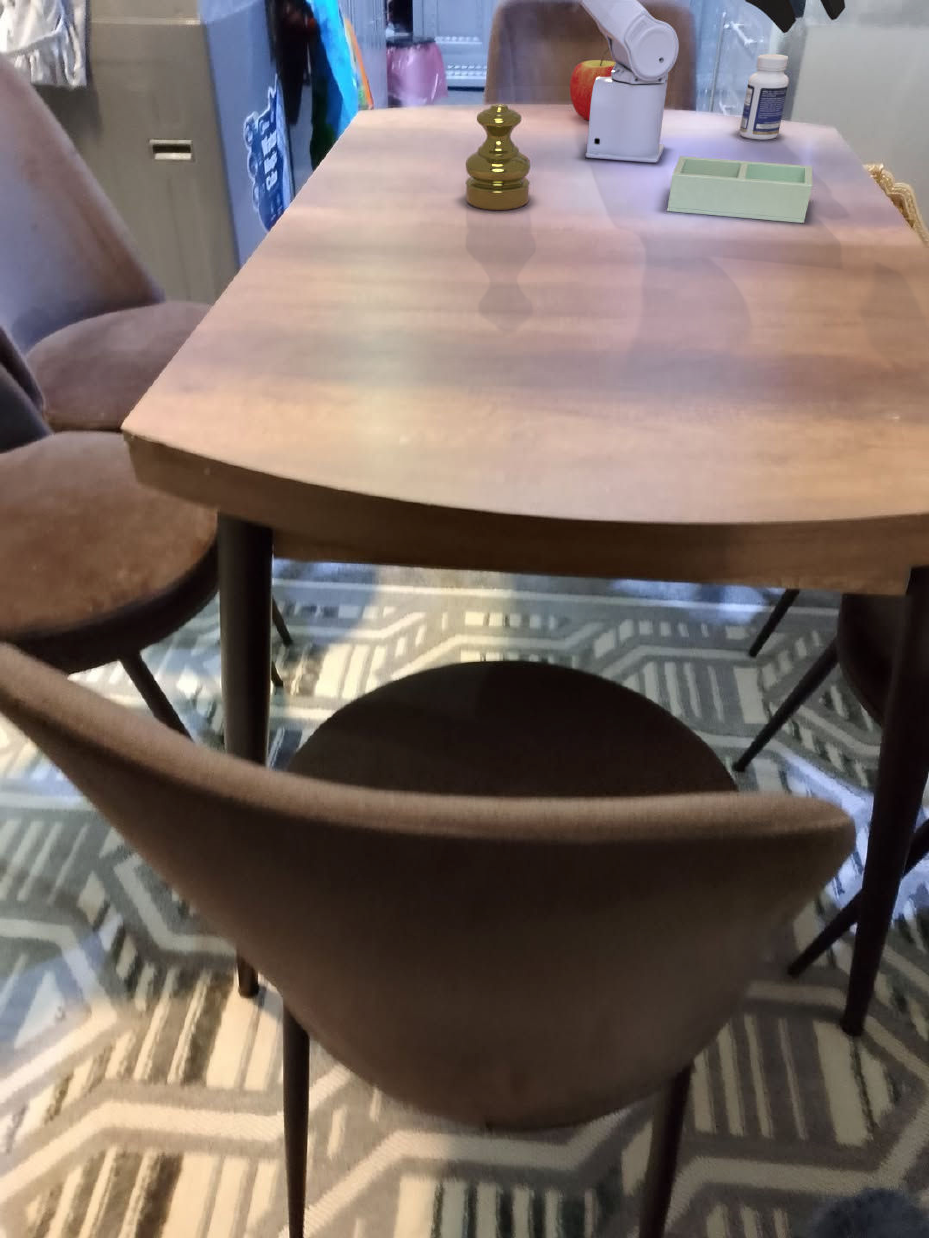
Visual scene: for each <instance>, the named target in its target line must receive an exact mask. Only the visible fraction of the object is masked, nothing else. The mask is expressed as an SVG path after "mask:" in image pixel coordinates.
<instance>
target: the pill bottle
mask: <svg viewBox="0 0 929 1238" xmlns="http://www.w3.org/2000/svg"><path fill="white" fill-rule="evenodd" d="M756 60H757V61H756V65H755V66H756V67H755V68H756V69H757V70H756V72H754V73H752V74H751V75H750V76H749V78H748V81H747V87H746V91H745V98H744V104H743V109H742V115H741V121H740V127H739V135H740V136H741V137H743V138H746V139H749V140H757V141H758V140H760V141H763V140H764V141H767V140H772V139H776V138H777V137H778V136H779V132H780V127H781V123H782V118H783V112H784V108H785V103H786V98H787V93H788V88H789V82H790V79H789V77H788V75H786V74H785V70H787V67H788V61H789V56H788V55H784V54H777V53H763V54H760V55H758V56H757V59H756Z"/></svg>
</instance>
